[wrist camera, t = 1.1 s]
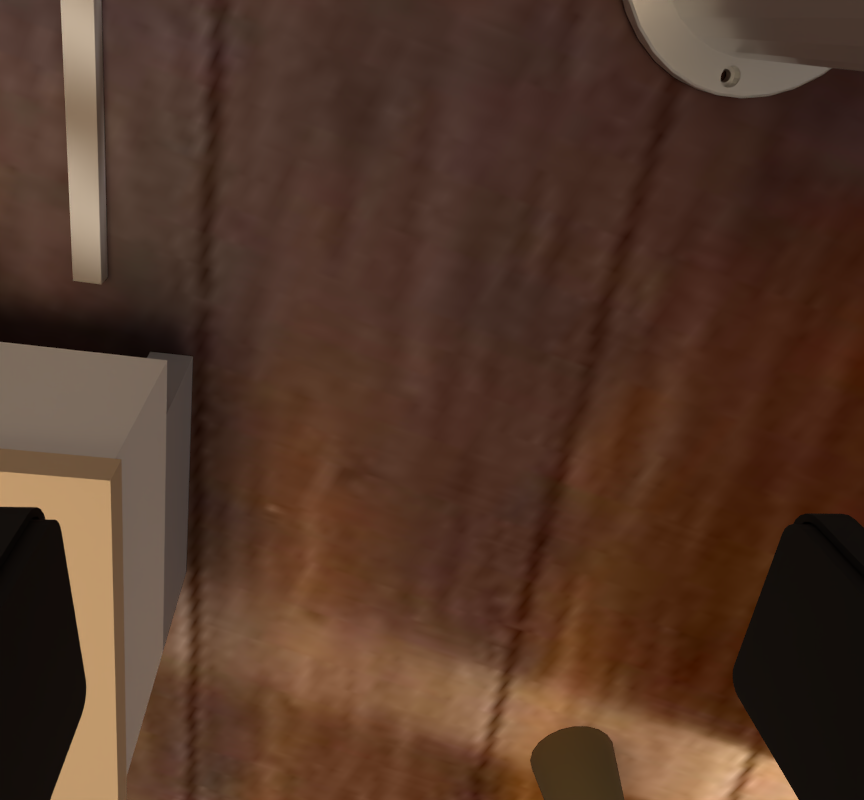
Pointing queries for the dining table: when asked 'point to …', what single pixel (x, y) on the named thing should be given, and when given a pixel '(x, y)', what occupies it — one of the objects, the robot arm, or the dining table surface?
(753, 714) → the robot arm
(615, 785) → the olive pawn
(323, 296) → the dining table surface
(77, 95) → the wooden mallet
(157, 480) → the low cabinet
